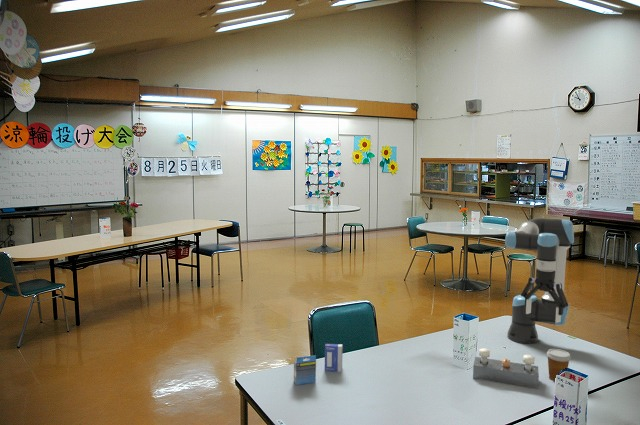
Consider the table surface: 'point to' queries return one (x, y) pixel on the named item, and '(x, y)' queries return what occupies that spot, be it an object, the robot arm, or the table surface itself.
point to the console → (506, 373)
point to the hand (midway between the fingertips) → (542, 317)
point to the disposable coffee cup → (557, 361)
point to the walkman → (333, 357)
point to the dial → (505, 363)
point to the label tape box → (305, 370)
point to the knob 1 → (484, 355)
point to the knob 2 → (528, 362)
